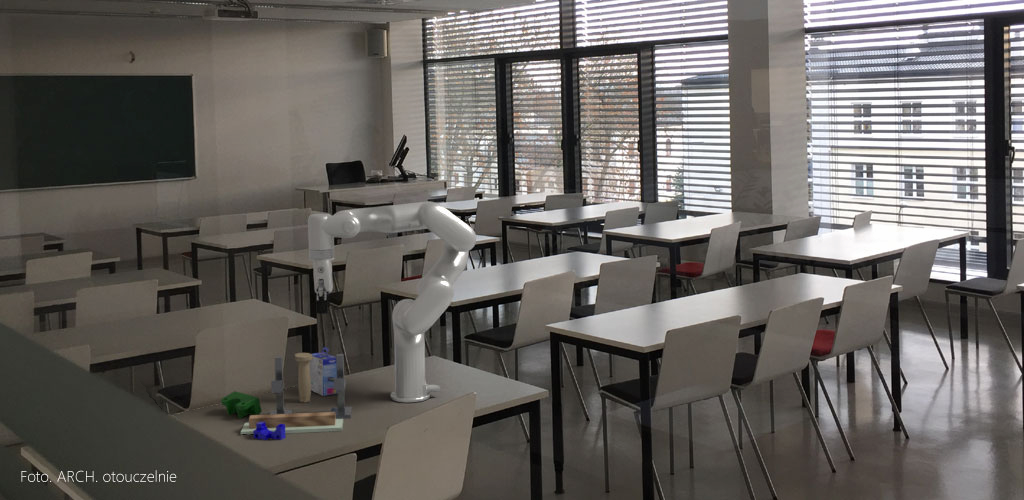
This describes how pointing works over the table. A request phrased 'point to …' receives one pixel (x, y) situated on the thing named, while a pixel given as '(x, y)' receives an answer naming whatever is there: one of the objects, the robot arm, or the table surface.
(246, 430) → the board
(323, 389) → the ink cartridge box
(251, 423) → the rail
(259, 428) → the cable holder
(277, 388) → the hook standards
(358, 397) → the table surface
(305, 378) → the handle
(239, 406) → the clamp
